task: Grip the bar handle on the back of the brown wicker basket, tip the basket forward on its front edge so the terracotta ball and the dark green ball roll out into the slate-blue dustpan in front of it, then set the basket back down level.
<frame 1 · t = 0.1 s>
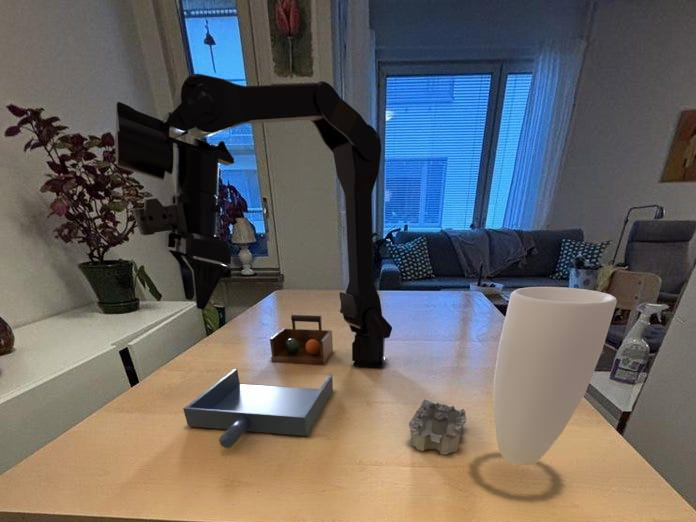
hand: (194, 304, 65), 15 cm above the table, tool pointing down, fingers open, 9 cm apart
terracotta ball: (313, 347, 91), point 2 cm above the table, touching basket
grey castle model: (436, 437, 60), on the table
dustpan: (267, 407, 68), on the table
basket: (302, 338, 90), point 4 cm above the table, hinge at 0.0°, touching green ball, terracotta ball
cup: (513, 476, 51), on the table
green ball: (292, 346, 91), point 2 cm above the table, touching basket
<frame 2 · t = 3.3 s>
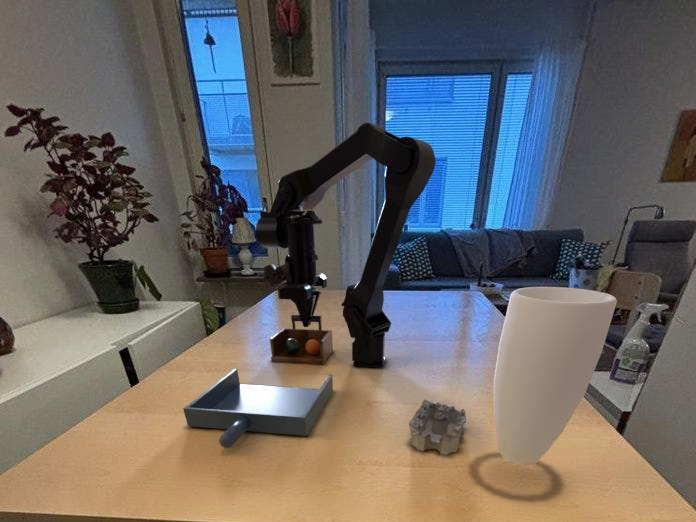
hand: (307, 326, 93), 6 cm above the table, tool pointing down, fingers closed on basket
basket: (302, 338, 90), point 4 cm above the table, hinge at 0.0°, touching green ball, gripper, terracotta ball
everything else where it was.
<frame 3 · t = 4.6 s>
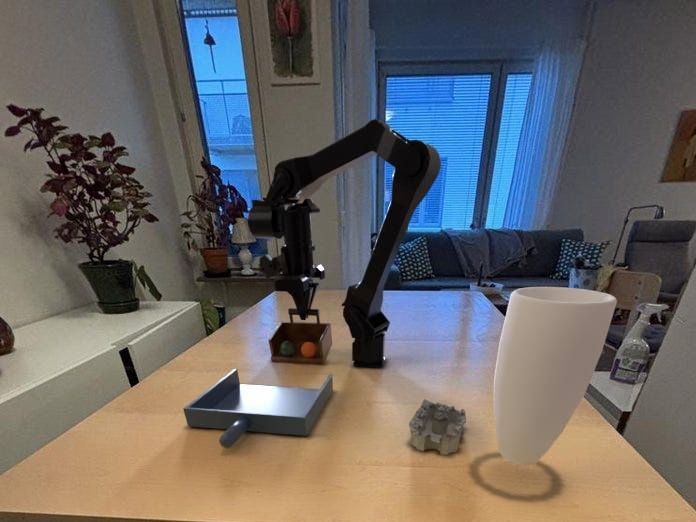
hand: (304, 319, 90), 8 cm above the table, tool pointing down, fingers closed
terracotta ball: (308, 350, 88), point 3 cm above the table, tilted 113°, touching basket
basket: (300, 335, 89), point 5 cm above the table, hinge at 11.3°, touching green ball, gripper, terracotta ball
green ball: (287, 349, 88), point 3 cm above the table, tilted 113°, touching basket
everything else where it was.
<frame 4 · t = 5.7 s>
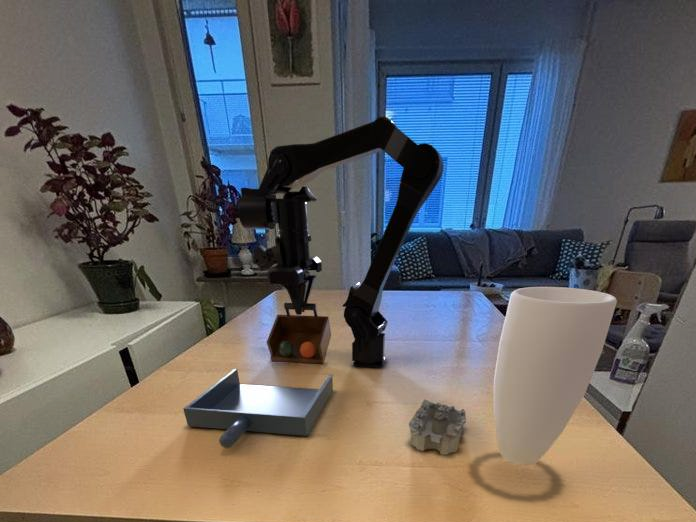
hand: (300, 313, 87), 10 cm above the table, tool pointing down, fingers closed
terracotta ball: (307, 350, 87), point 3 cm above the table, tilted 129°, touching basket
basket: (298, 332, 87), point 6 cm above the table, hinge at 25.0°, touching green ball, gripper, terracotta ball
green ball: (286, 348, 88), point 3 cm above the table, tilted 129°, touching basket
everything else where it was.
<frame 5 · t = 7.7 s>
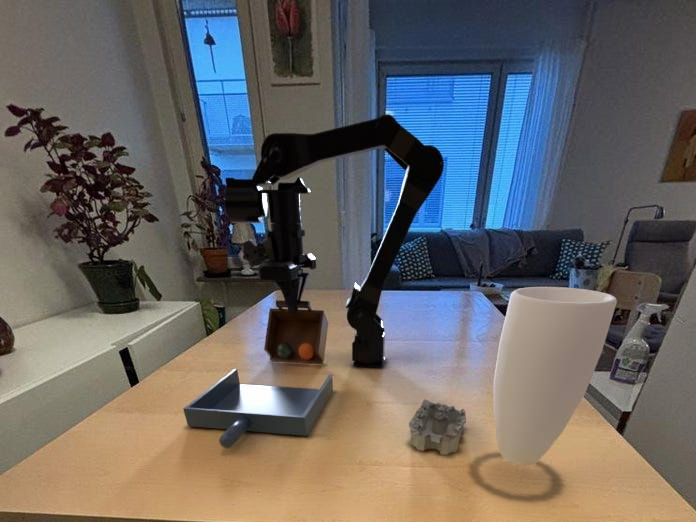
hand: (293, 312, 83), 11 cm above the table, tool pointing down, fingers closed on basket
terracotta ball: (306, 351, 86), point 3 cm above the table, tilted 154°, touching basket
basket: (294, 332, 85), point 7 cm above the table, hinge at 49.2°, touching green ball, gripper, terracotta ball
green ball: (284, 350, 87), point 3 cm above the table, tilted 154°, touching basket
everything else where it was.
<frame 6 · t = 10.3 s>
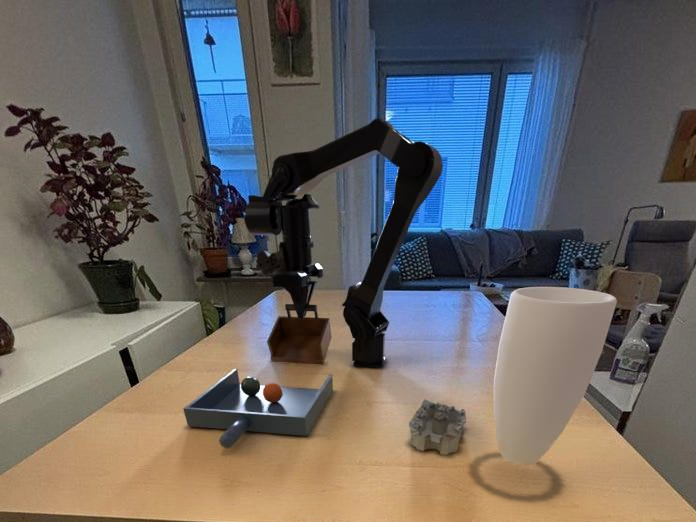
hand: (301, 317, 89), 8 cm above the table, tool pointing down, fingers closed
terracotta ball: (272, 392, 69), point 2 cm above the table, tilted 169°, touching dustpan
basket: (299, 333, 88), point 6 cm above the table, hinge at 21.3°, touching gripper
green ball: (250, 386, 71), point 2 cm above the table, tilted 114°, touching dustpan
everything else where it was.
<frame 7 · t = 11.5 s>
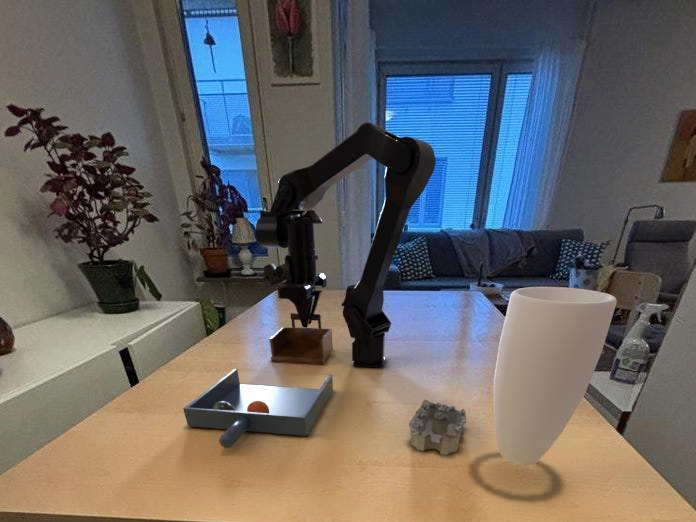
hand: (306, 325, 93), 6 cm above the table, tool pointing down, fingers open, 3 cm apart
terracotta ball: (258, 411, 62), point 2 cm above the table, tilted 93°, touching dustpan
basket: (301, 337, 90), point 4 cm above the table, hinge at 2.4°
green ball: (223, 412, 62), point 2 cm above the table, tilted 133°, touching dustpan
everything else where it was.
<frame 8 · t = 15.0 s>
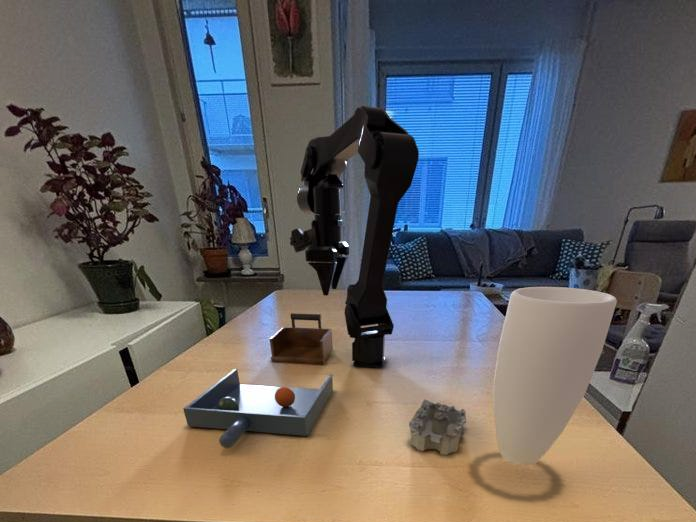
hand: (330, 292, 96), 12 cm above the table, tool pointing down, fingers open, 9 cm apart
terracotta ball: (285, 396, 67), point 2 cm above the table, tilted 133°, touching dustpan
green ball: (228, 407, 64), point 2 cm above the table, tilted 73°, touching dustpan
everything else where it was.
at the end: terracotta ball inside the target area in the dustpan (3.2 cm from its centre), point 2.0 cm above the dustpan's base; green ball inside the target area in the dustpan (7.0 cm from its centre), point 2.0 cm above the dustpan's base; basket at +2° (first picture: +0°) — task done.
